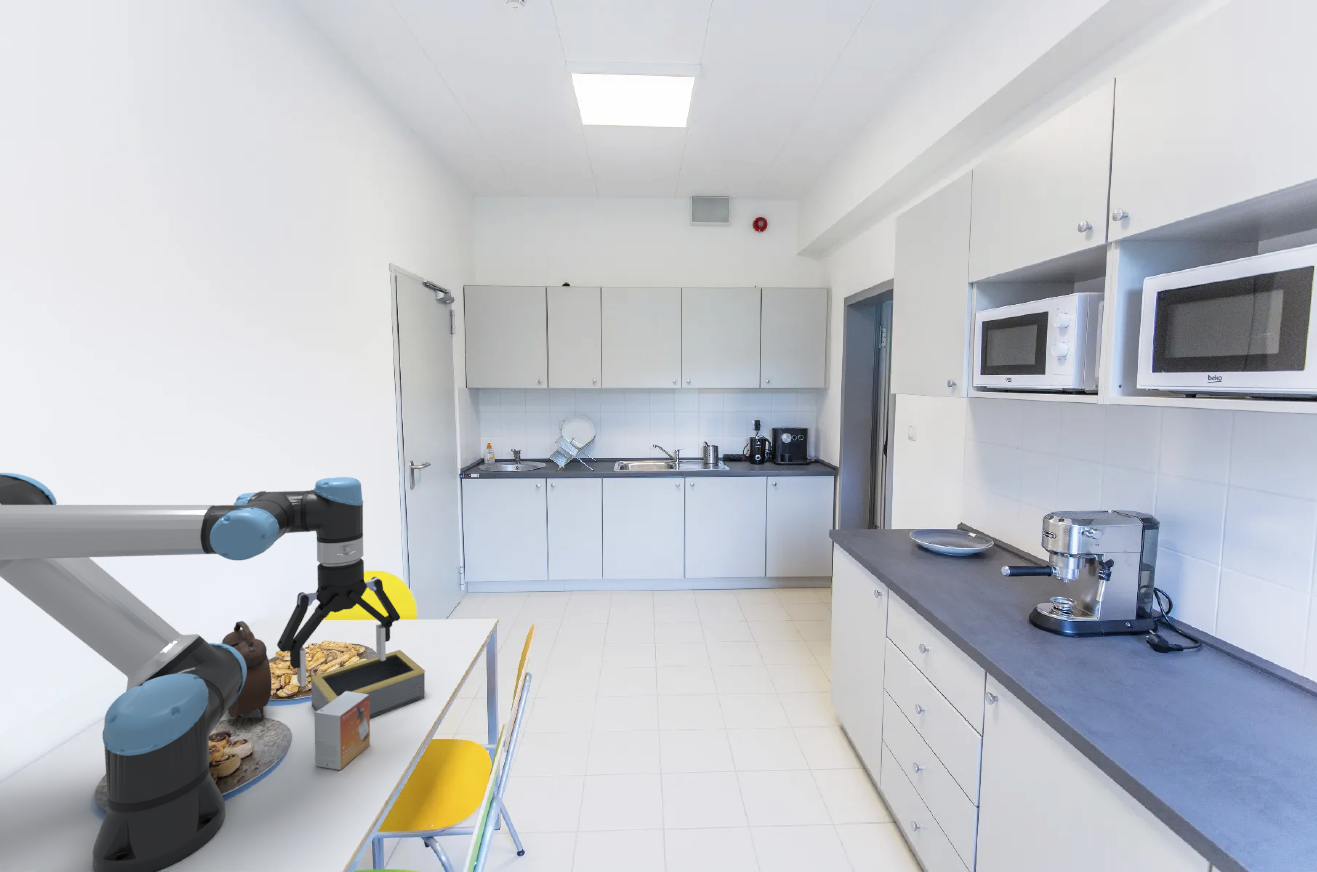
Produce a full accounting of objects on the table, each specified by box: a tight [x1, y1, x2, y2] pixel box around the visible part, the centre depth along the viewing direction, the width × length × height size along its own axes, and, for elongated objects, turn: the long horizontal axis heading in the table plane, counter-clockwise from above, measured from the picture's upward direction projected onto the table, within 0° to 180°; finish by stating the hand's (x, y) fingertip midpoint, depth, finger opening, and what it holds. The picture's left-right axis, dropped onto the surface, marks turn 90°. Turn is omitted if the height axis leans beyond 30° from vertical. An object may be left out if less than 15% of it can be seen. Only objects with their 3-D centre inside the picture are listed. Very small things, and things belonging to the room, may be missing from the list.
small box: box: [313, 691, 371, 771], centre depth 105 cm, size 8×6×10 cm
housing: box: [310, 649, 426, 720], centre depth 124 cm, size 19×14×7 cm
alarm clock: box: [221, 620, 273, 725], centre depth 117 cm, size 14×7×20 cm, turn 50°
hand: (343, 670), depth 104 cm, fingers open, 13 cm apart
